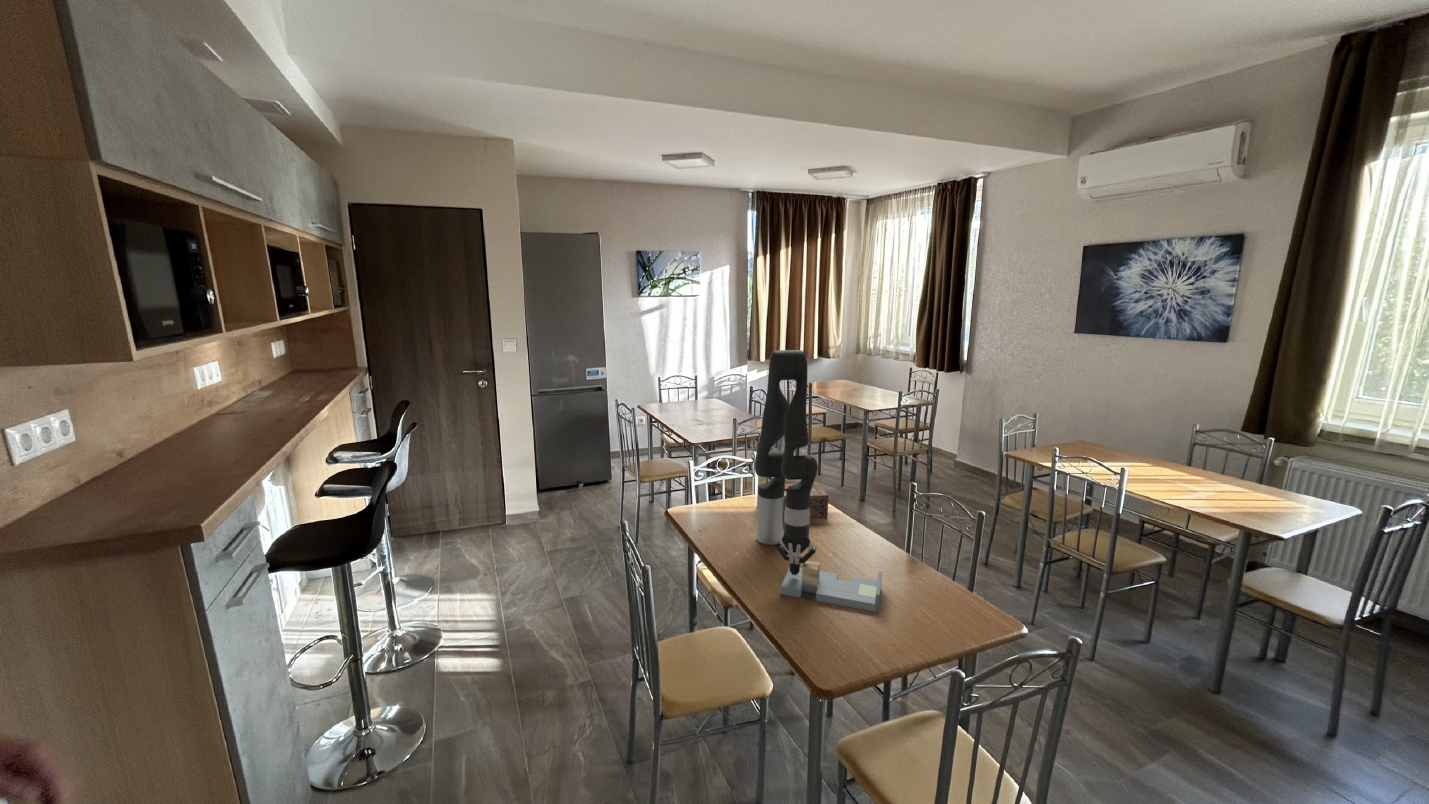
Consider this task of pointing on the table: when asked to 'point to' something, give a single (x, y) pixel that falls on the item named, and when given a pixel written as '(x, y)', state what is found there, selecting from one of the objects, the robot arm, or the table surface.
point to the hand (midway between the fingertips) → (794, 573)
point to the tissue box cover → (813, 501)
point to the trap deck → (835, 590)
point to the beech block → (810, 572)
